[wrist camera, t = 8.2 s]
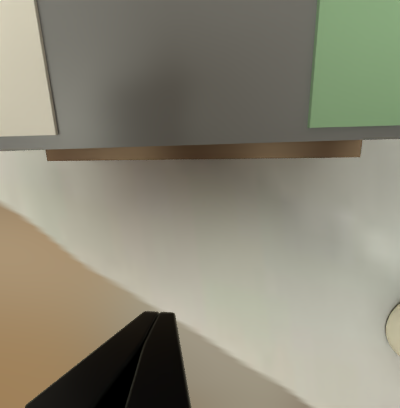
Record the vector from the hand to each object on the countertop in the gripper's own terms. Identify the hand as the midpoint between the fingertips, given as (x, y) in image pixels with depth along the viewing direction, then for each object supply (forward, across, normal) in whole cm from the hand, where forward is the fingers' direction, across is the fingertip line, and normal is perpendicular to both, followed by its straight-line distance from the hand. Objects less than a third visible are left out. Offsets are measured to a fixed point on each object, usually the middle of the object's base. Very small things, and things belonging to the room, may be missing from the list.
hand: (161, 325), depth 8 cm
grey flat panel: (+6, 0, -8) cm, 10 cm away
